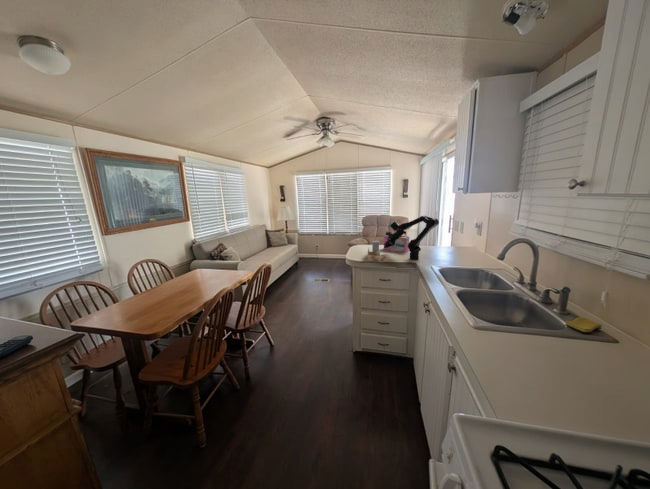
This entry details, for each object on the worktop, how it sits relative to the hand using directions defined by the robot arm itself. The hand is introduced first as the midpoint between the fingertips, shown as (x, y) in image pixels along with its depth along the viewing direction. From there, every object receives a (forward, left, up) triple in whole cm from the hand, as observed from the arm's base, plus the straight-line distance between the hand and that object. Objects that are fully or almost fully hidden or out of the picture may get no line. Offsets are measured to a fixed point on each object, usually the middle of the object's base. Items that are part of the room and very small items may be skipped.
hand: (384, 246), depth 216 cm
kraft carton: (+2, +16, -7) cm, 18 cm away
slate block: (+7, +2, -8) cm, 11 cm away
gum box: (-5, -23, -8) cm, 25 cm away
